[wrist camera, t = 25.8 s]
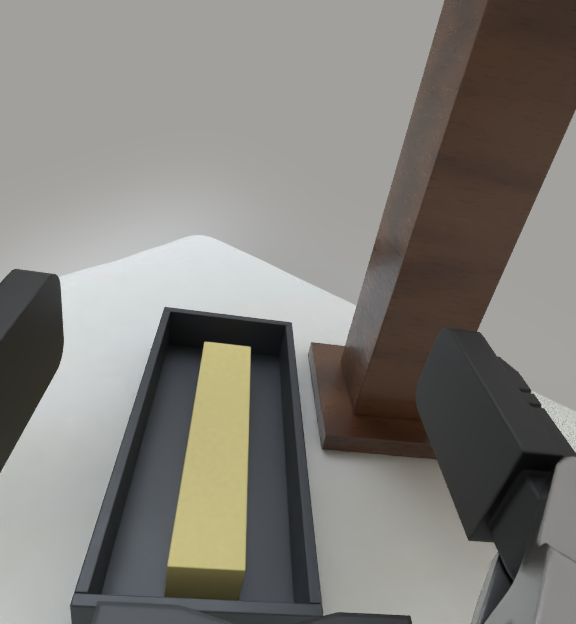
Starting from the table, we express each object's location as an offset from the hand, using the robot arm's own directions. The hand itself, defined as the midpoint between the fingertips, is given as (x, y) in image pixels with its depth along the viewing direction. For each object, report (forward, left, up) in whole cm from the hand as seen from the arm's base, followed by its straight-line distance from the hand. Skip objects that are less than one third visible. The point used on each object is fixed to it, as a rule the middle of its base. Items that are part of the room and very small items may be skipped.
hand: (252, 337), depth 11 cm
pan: (-9, +13, -21) cm, 26 cm away
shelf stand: (-2, +27, -21) cm, 35 cm away
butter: (-8, +12, -21) cm, 25 cm away
